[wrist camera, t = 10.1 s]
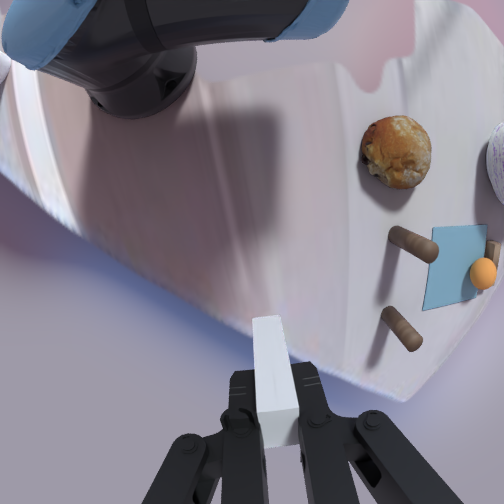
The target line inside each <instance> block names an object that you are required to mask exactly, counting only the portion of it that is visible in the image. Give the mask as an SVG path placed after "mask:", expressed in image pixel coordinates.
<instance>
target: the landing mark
mask: <svg viewBox="0 0 504 504" xmlns="http://www.w3.org/2000/svg"><path fill="white" fill-rule="evenodd" d="M486 235H487V225H469V226H451V227H434V228H433V232H432V241H433V242H435V243H437V245H438V247H439V255H438V257H437V259H436V260H435V261H434V262H433V263H430V264H429V272H428V279H427V286H426V292H425V298H424V303H423V309H422V310H423V311H424V310H428V309H433V308H437V307H441V306H445V305H449V304H453V303H457V302H461V301H465V300H469V299H473V298H476V295H477V291H478V288H476V287H475V286H474V285H473V284H472V282H471V279H470V269H471V266H472V264H473V263H474V262H475V261H476V260H477V259H479V258H484V251H485V243H486Z"/></svg>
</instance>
